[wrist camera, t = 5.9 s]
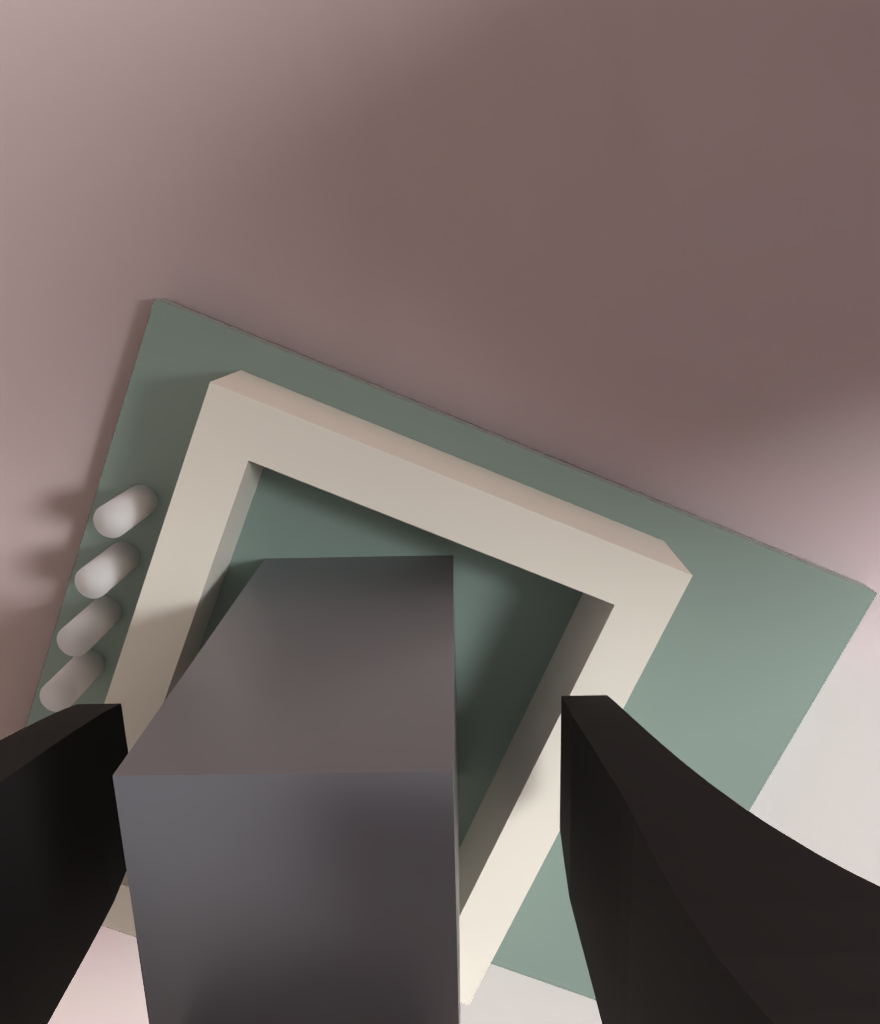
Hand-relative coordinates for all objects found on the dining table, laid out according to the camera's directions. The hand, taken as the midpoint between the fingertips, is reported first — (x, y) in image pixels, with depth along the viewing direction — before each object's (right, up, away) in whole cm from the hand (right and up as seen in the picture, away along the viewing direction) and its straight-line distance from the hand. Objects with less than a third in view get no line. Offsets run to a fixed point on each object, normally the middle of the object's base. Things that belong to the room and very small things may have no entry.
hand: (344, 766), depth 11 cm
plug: (0, +1, +2) cm, 3 cm away
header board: (+1, 0, +3) cm, 3 cm away
